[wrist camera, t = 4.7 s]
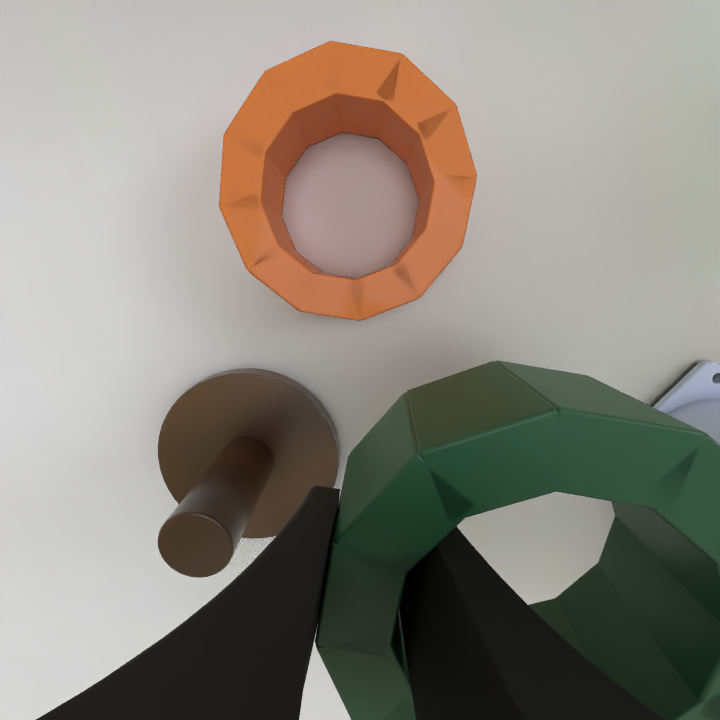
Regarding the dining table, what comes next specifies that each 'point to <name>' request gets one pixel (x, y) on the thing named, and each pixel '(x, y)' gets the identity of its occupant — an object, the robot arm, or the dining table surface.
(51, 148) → the dining table surface
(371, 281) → the orange ring
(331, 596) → the green ring
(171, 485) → the dark brown cylinder peg
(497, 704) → the robot arm
